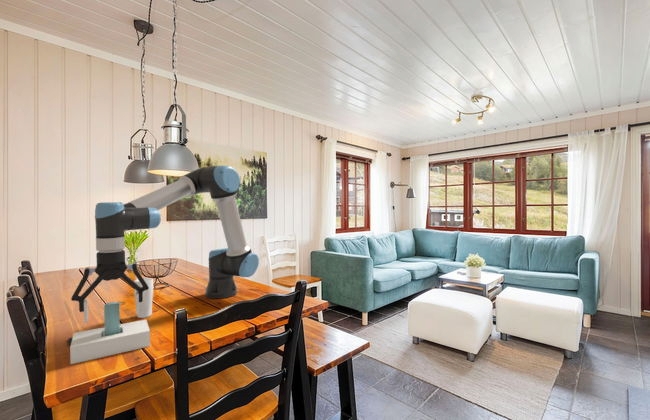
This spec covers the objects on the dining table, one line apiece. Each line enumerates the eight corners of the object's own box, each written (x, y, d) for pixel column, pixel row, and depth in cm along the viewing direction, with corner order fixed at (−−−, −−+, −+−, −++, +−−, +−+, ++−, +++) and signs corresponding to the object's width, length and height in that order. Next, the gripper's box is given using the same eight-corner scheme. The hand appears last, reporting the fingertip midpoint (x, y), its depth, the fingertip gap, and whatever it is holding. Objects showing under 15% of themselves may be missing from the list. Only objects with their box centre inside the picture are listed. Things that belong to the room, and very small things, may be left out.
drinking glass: (136, 314, 130) (136, 278, 130) (155, 312, 132) (154, 277, 132) (133, 320, 124) (132, 282, 123) (152, 317, 126) (151, 280, 126)
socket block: (146, 333, 111) (146, 319, 111) (150, 346, 101) (149, 330, 101) (74, 348, 100) (74, 332, 99) (70, 364, 90) (70, 347, 90)
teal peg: (119, 343, 103) (119, 301, 103) (120, 347, 100) (119, 304, 100) (105, 346, 101) (104, 303, 101) (104, 351, 98) (104, 306, 97)
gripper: (153, 245, 110) (155, 305, 111) (61, 253, 96) (63, 321, 96) (156, 248, 104) (158, 311, 104) (58, 256, 90) (60, 329, 90)
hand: (112, 316), depth 100 cm, fingers open, 13 cm apart
